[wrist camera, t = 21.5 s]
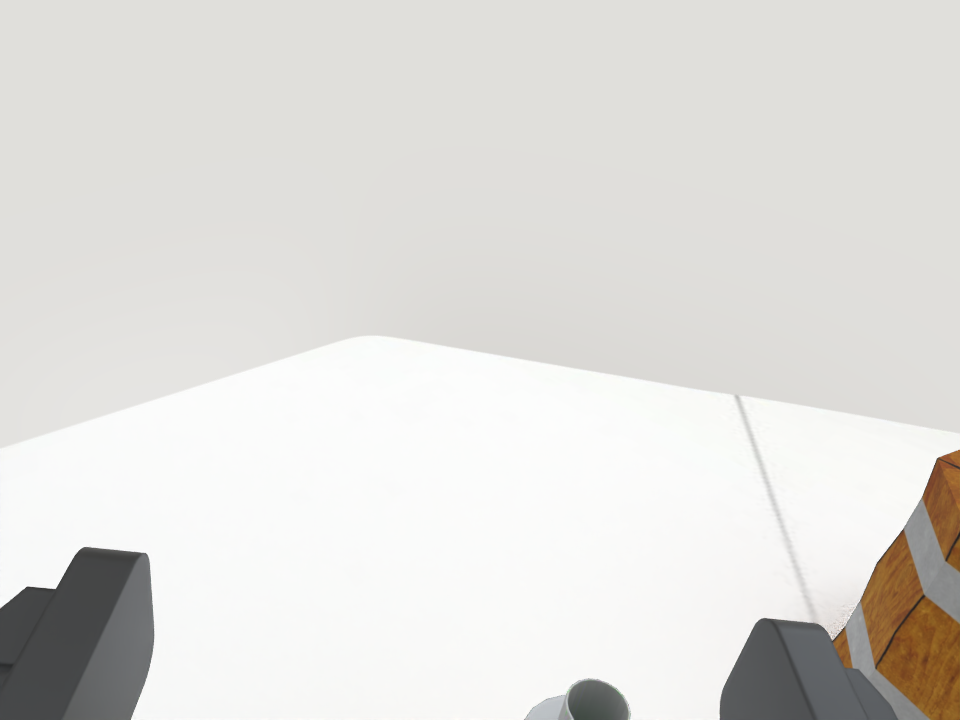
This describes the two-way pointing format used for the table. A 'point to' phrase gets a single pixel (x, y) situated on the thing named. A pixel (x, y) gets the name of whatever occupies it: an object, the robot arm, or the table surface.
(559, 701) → the vape
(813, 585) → the table surface
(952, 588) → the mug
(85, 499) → the table surface
